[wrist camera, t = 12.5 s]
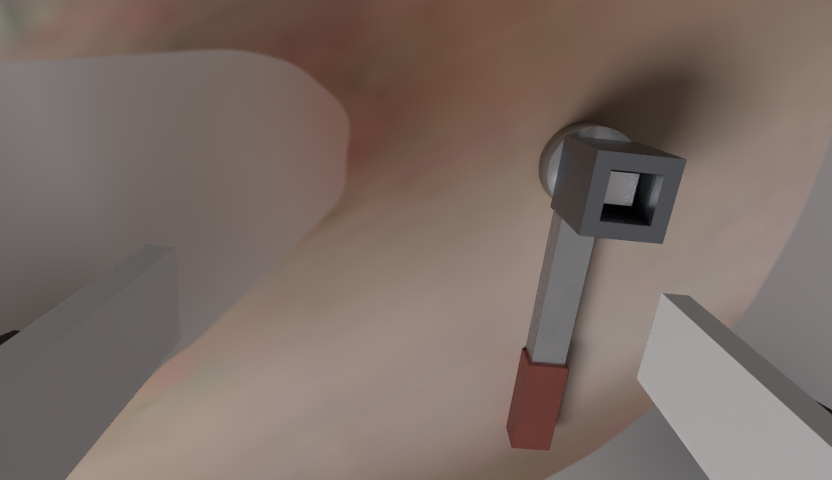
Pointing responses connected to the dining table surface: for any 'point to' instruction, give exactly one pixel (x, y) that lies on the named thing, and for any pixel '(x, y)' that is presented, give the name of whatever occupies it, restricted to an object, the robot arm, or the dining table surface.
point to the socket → (588, 181)
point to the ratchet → (557, 301)
